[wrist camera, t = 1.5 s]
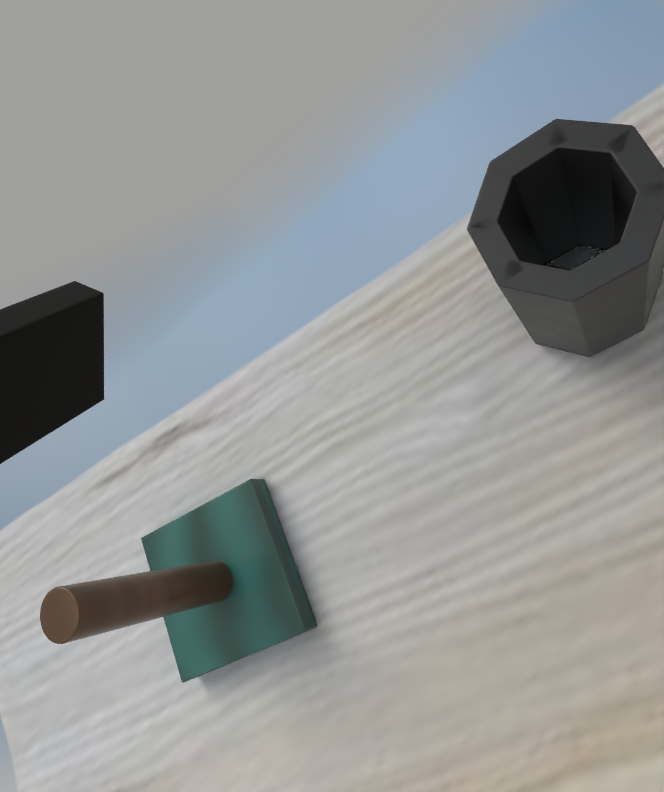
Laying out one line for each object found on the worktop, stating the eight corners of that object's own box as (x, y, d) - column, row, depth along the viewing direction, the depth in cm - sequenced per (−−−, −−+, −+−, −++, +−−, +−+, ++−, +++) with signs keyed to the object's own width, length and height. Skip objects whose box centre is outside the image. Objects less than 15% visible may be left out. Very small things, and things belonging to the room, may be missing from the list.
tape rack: (264, 478, 41) (106, 473, 29) (317, 626, 38) (165, 691, 26) (156, 536, 45) (-28, 554, 32) (197, 676, 41) (11, 756, 29)
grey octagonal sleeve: (612, 202, 34) (605, 85, 24) (684, 309, 32) (708, 228, 22) (495, 271, 36) (445, 190, 27) (553, 375, 34) (522, 329, 24)
